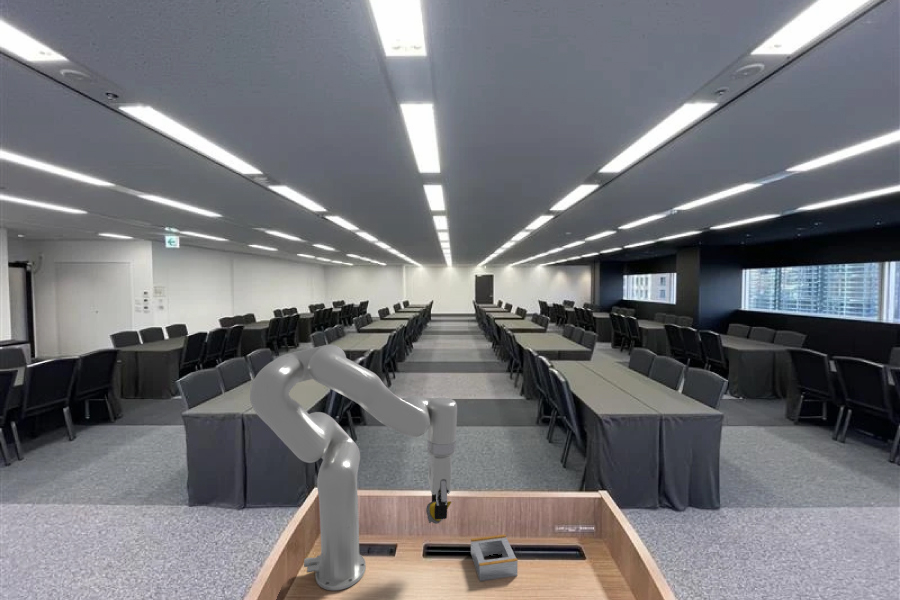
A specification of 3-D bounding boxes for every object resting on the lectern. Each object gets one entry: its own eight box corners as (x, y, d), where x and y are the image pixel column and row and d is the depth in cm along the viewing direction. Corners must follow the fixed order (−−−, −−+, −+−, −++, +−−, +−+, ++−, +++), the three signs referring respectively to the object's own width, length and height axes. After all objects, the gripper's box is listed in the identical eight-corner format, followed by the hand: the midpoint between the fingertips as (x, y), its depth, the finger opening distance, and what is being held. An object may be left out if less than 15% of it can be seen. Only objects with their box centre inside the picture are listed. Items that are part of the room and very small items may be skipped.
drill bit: (436, 513, 109) (459, 497, 105) (433, 531, 104) (458, 516, 100) (421, 503, 108) (445, 487, 104) (418, 521, 103) (442, 505, 99)
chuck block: (479, 581, 99) (479, 564, 98) (470, 553, 109) (470, 538, 108) (517, 575, 100) (517, 559, 100) (505, 548, 110) (505, 534, 110)
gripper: (424, 433, 111) (421, 494, 112) (431, 461, 95) (428, 533, 96) (449, 432, 113) (447, 493, 114) (461, 460, 96) (458, 531, 97)
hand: (438, 510), depth 105 cm, fingers closed on drill bit, 5 cm apart
